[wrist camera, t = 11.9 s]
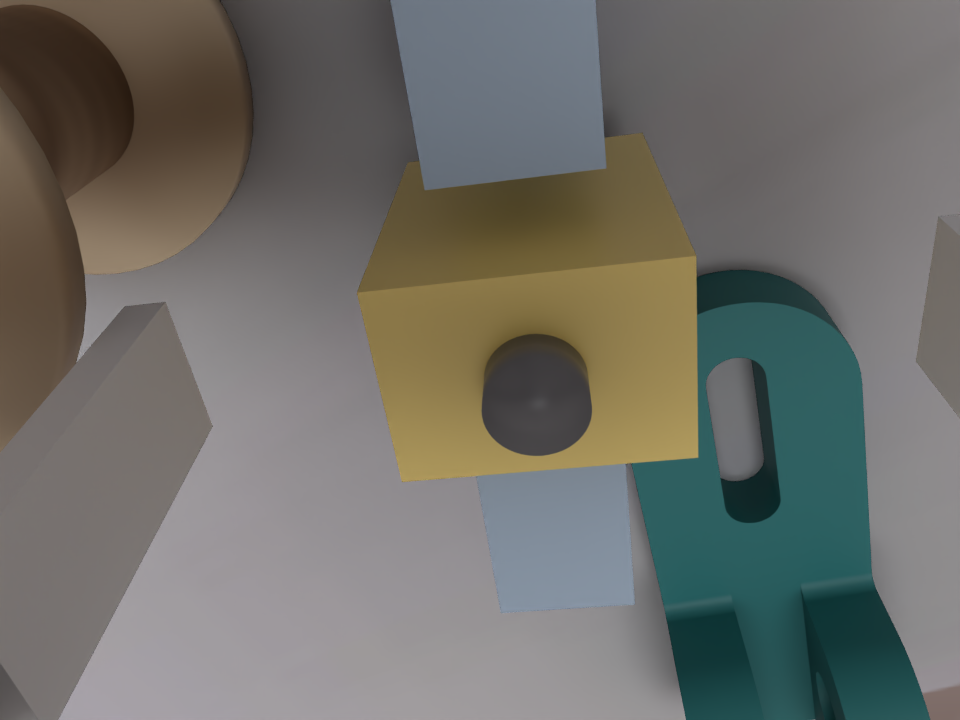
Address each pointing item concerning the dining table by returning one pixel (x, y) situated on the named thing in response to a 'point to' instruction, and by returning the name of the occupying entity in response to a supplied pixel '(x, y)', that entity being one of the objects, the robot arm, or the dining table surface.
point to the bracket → (776, 528)
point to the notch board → (507, 156)
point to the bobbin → (104, 161)
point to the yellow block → (535, 321)
